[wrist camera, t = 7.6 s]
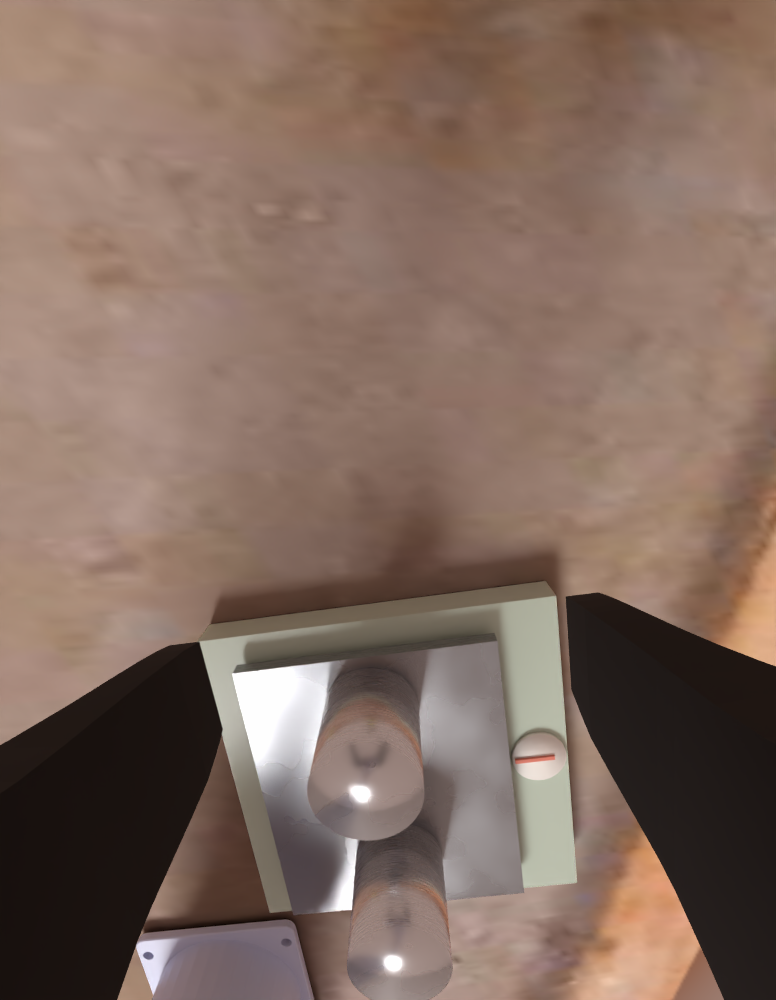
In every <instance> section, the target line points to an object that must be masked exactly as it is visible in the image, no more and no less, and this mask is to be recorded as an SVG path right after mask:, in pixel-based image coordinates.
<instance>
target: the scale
mask: <svg viewBox="0 0 776 1000" xmlns="http://www.w3.org/2000/svg"><path fill="white" fill-rule="evenodd" d="M488 633H495V636H496V638H497V641H498V651H499V660H500V670H501V679H502V689H503V698H504V707H505V717H506V726H507V736H508V745H509V755H510V764H511V773H512V783H513V792H514V802H515V811H516V821H517V830H518V839H519V849H520V858H521V868H522V877H523V887H524V888H529V887H539V886H549V885H559V884H569V883H577V876H576V862H575V848H574V835H573V821H572V807H571V793H570V779H569V766H568V752H567V738H566V724H565V711H564V697H563V683H562V669H561V655H560V642H559V628H558V614H557V600H556V595H555V593H554V592H553V591H552V589H551V588H550V586H549V585H548V584H547V582H546V581H541V582H533V583H526V584H518V585H510V586H503V587H495V588H487V589H479V590H472V591H464V592H456V593H449V594H441V595H433V596H425V597H418V598H410V599H402V600H395V601H387V602H379V603H371V604H364V605H356V606H348V607H341V608H333V609H325V610H317V611H310V612H302V613H294V614H287V615H279V616H271V617H263V618H256V619H248V620H240V621H233V622H225V623H217V624H210V625H209V626H208V627H207V629H206V630H205V632H204V633H203V634H202V636H201V637H200V638H199V640H198V641H197V642H200V646H201V650H202V653H203V657H204V661H205V664H206V668H207V672H208V676H209V679H210V683H211V687H212V691H213V694H214V698H215V702H216V705H217V709H218V713H219V717H220V720H221V724H222V728H223V731H222V737H223V741H224V744H225V748H226V752H227V755H228V759H229V763H230V767H231V770H232V774H233V778H234V782H235V785H236V789H237V793H238V796H239V800H240V804H241V808H242V811H243V815H244V819H245V822H246V826H247V830H248V834H249V837H250V841H251V845H252V849H253V852H254V856H255V860H256V863H257V867H258V871H259V875H260V878H261V882H262V886H263V889H264V893H265V897H266V901H267V904H268V908H269V912H270V913H275V912H285V911H292V908H291V904H290V900H289V896H288V892H287V888H286V884H285V880H284V876H283V872H282V868H281V864H280V860H279V857H278V853H277V849H276V845H275V841H274V837H273V833H272V829H271V825H270V821H269V817H268V813H267V809H266V805H265V801H264V798H263V794H262V790H261V786H260V782H259V778H258V774H257V770H256V766H255V762H254V758H253V754H252V750H251V746H250V742H249V738H248V735H247V731H246V727H245V723H244V719H243V715H242V711H241V707H240V703H239V699H238V695H237V691H236V687H235V683H234V679H233V675H232V673H233V671H234V669H235V668H236V666H237V665H240V664H248V663H256V662H264V661H272V660H280V659H288V658H296V657H304V656H312V655H320V654H328V653H336V652H344V651H352V650H360V649H368V648H376V647H384V646H392V645H400V644H408V643H416V642H424V641H432V640H440V639H448V638H456V637H464V636H472V635H480V634H488Z"/></svg>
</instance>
